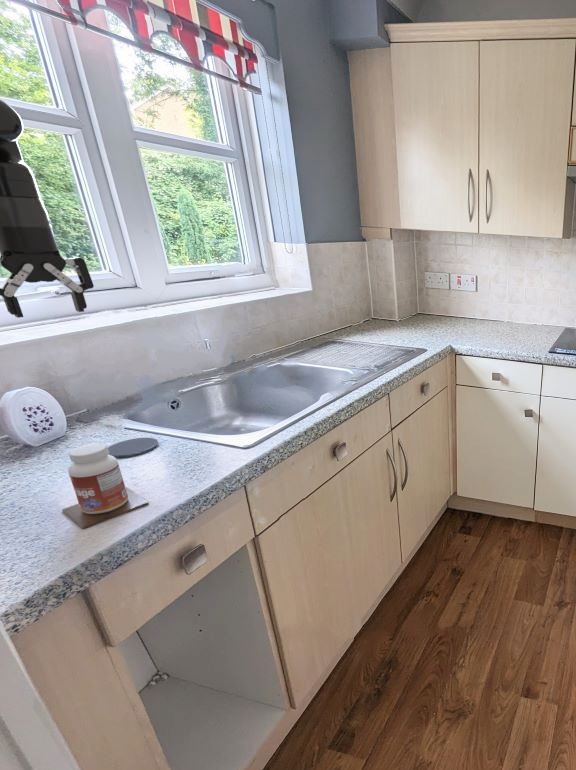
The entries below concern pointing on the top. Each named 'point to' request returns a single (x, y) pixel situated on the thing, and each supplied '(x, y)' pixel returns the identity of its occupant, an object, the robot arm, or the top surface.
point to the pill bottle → (96, 479)
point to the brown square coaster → (92, 519)
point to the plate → (132, 447)
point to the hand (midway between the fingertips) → (50, 314)
